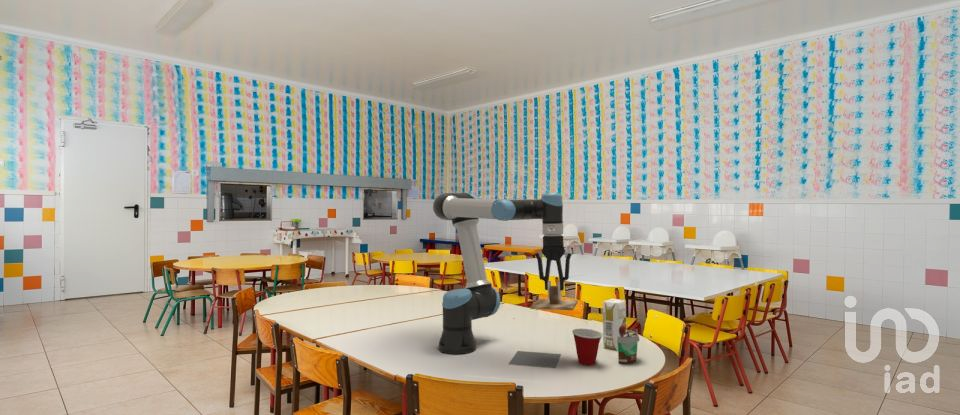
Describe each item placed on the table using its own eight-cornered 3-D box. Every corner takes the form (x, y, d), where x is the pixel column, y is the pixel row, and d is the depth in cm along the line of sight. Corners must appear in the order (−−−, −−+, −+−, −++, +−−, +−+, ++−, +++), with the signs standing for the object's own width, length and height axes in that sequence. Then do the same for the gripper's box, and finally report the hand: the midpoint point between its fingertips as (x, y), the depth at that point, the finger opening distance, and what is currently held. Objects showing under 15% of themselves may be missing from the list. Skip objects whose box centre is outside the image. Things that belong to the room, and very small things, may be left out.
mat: (508, 365, 182) (508, 364, 182) (517, 352, 198) (517, 350, 198) (555, 369, 177) (555, 368, 177) (561, 355, 194) (561, 354, 194)
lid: (530, 308, 180) (529, 289, 180) (538, 301, 195) (537, 283, 195) (572, 310, 176) (572, 290, 176) (577, 302, 190) (577, 284, 190)
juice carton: (600, 347, 204) (600, 300, 203) (611, 343, 210) (611, 297, 210) (618, 351, 198) (617, 303, 198) (628, 346, 205) (628, 300, 205)
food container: (634, 367, 179) (634, 339, 179) (617, 364, 183) (617, 336, 183) (643, 358, 190) (643, 331, 190) (627, 355, 193) (626, 329, 193)
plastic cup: (598, 371, 175) (598, 336, 175) (568, 366, 180) (568, 333, 180) (606, 362, 185) (606, 329, 185) (577, 358, 190) (577, 326, 190)
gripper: (529, 235, 184) (531, 300, 184) (573, 235, 179) (575, 301, 179) (533, 234, 191) (534, 296, 191) (576, 234, 187) (577, 298, 186)
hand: (554, 299), depth 185 cm, fingers closed on lid, 3 cm apart
